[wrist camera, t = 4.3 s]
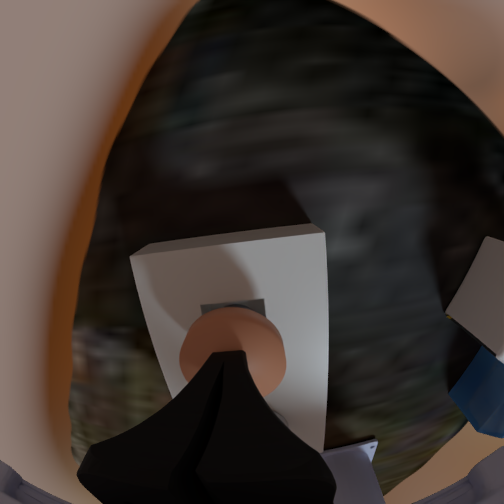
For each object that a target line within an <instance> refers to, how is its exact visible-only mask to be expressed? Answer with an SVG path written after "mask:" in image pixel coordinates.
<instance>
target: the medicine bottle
mask: <svg viewBox="0 0 504 504" xmlns="http://www.w3.org/2000/svg"><path fill="white" fill-rule="evenodd" d="M445 314H446V316H447V317H448V318H449V319H451V320H452V321H453V322H454V323H456V324H457V325H458V326H459V327H460V328H462V329H463V330H464V331H465V332H466V333H468V334H469V335H470V336H471V337H472V338H474V339H475V340H476V341H477V342H478V343H480V344H481V345H482V346H483V347H484V348H485V349H486V350H488V351H489V352H490V353H491V354H492V355H493V356H494V357H496V358H497V359H498V360H499V361H501V362H502V363H503V364H504V241H501V240H498V239H495V238H492V237H489V236H487V237H485V238H484V240H483V242H482V245H481V247H480V249H479V251H478V253H477V255H476V257H475V259H474V261H473V263H472V265H471V267H470V269H469V271H468V273H467V275H466V276H465V278H464V280H463V282H462V284H461V286H460V287H459V289H458V291H457V292H456V294H455V296H454V298H453V299H452V301H451V302H450V304H449V306H448V307H447V309H446V311H445Z"/></svg>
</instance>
